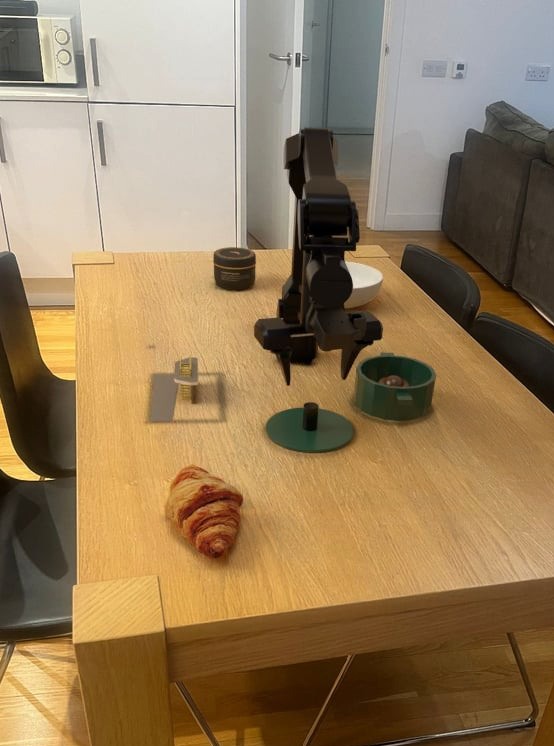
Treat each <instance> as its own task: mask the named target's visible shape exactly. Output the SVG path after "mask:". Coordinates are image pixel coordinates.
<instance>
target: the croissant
mask: <svg viewBox="0 0 554 746" xmlns="http://www.w3.org/2000/svg"><path fill="white" fill-rule="evenodd" d="M168 494H169V496H168V497H167V499H166V502H165V505H164V513H165V515H166V516H167V518H168V519H169V520H171V523H172V526H173V528H174V530H175V531H176V532H177V533H178V534H179V535H180V536H181V537H182V538H184V539H185V540H186V541H187V542H188V543H190V544H191V545H192V546H193V547H194V548H195V549H196V550H197V551H198V552H199V553H200V554H202V555H204V556H207V557H210V558H215V559H220V558H223V557H224V556H225V555H227V553H228V551H229V547H231V545H232V544H233V543H234V542H235V540H236V533H237V531H238V527H239V525H240V521H241V507H242V506H243V503H244V496H243V494H242V493H241V491H239V489H238V488H237V487H235V486H234V485H232V484H229V483H227V482H226V481H225V480H223V479H222V478H220V477H218V476H216V475H214V474H211V473H209V472H208V471H207V470H206V469H204V468H203V467H200V466H197V465H196V464H194V463H191V464H190V465H188V466H184V467H182V468H181V469H180V470H179V471H178V473H177V474H176V476H175V477H174V478H173V479H172V480H171V483H170V486H169V493H168Z"/></svg>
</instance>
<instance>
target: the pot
mask: <svg viewBox="0 0 554 746" xmlns="http://www.w3.org/2000/svg"><path fill="white" fill-rule="evenodd" d="M391 375H396V376H399V377H400V378H401V379H404V380H406V381H407V382H408V384H409V387H397V386H388V385H384V384H380V383H379V380H380V379H382V378H385V377H388V376H391ZM354 378H355V379H354V389H353V403H354V405H355V407H356V408H358V409H359V411H361V412H362V413H364V414H366V415H369V416H370V417H373V418H377V419H380V420H384V421H394V422H403V421H405V422H406V421H413V420H416V419H421V418H423V417H425V416H427V414H429V413H430V411H431V408H432V405H433V398H434V392H435V386H436V381H437V380H436V379H437V374H436V371H435V369H434V368H433V367H432V366H431V365H429V364H428V363H426V362H424V361H422V360H419V359H417V358H414V357H409V356H406V355H405V356H404V355H396V354H395V353H394V352H380V354H379V355H374V356H370V357H366V358H365V359H362V360H360V361H359V362H358V364H357V366H356V367H355V377H354Z"/></svg>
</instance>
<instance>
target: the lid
mask: <svg viewBox="0 0 554 746" xmlns="http://www.w3.org/2000/svg"><path fill="white" fill-rule="evenodd" d="M319 406H320V405H319V404H318V403H316V402H313V401H307V402H305V403H304V404H303V407H302V406H301V407H292V408H288V409H284V410H281V411H279V412H276V413H275V414H273V415H271V416H270V417H269V418H268V419H267V421H266V424H265V434H266V436H267V437H268V438H269V439H270V440H271V441H272V442H273V443H275V444H276V445H278V446H280V447H282V448H284V449H287V450H289V451H295V452H299V453H307V454H309V453H310V454H318V453H319V454H320V453H327V452H332V451H336V450H338V449H341V448H343V447H345V446H346V445H348V444H349V443H350V442H351V441H352V439H353V438H354V432H355V429H354V426H353V424H352V423H351V421H350V420H349V419H347V418H346V417H345V416H343V415H342V414H340V413H337V412H335V411H332V410H328V409H326V408H325V409H324V408H319Z"/></svg>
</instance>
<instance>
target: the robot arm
mask: <svg viewBox="0 0 554 746" xmlns="http://www.w3.org/2000/svg"><path fill="white" fill-rule="evenodd" d="M282 161H283V163H282V164H283V170H286V177H287V183H288V185H289V187H290V189H291V191H292V193H293V194H294V209H293V210H294V211H293V231H292V249H291V251H292V253H291V271H290V276H288V277H287V280H286V281H285V282H284V283H283V284H282V286H281V298H278V299H277V305H276V306H277V307H276V317H267V318H258V319H257V320H256V322H255V323H254V325H253V328H254V329H253V336H254V338H255V340H256V341H257V342H258V344H259V345H260V347H261V348H262V349H263V350H265V351H269V353H271V354H273V355H274V356H275V358H276V360H277V363H278V366H279V369H280V372H281V374H282V377H283V380H284V383H285V385H286V386H287V387H290V386H291V380H292V376H291V375H292V373H291V372H292V371H291V364H296V365H306V366H311V365H312V364H313V361H314V360H315V359H316V358H317V356H318V354H319V350H320V351H322V352H326V353H328V352H332V351H337V350H338V351H339V350H340V351H341V353H340V354H341V355H340V378H341V380H342V381H345V380H347V378H348V376H349V374H350V372H351V370H352V367H353V365H354V364H355V362H356V359H357V358H358V356H359V355H360V353H361V351H363V350H364V349H365V348H367V347H370V346H372V345H374V343H375V342H376V341H381V340H382V339H383V333H384V326H383V322H381V320H380V319H378V318H377V316H375V315H374V314H373V313H372V312H371V311H370V310H358V311H357V310H356V311H346V308H345V307H344V303H345V302H346V301H347V300H348V299H349V297H350V295H351V294H352V290H353V281H352V277H351V275H350V273H349V270H348V268H347V266H346V263H345V261H346V260H345V252H357V244H359V243H360V239H361V236H360V235H361V234H360V218H359V216H360V215H359V209H358V208H357V203H356V201H355V200H352V197H351V192H350V189H349V187H348V185H347V184H345V183H343V182H342V181H341V180H339V179H338V175H337V170H336V169H337V167H338V166H339V165H338V164H339V140H338V139H337V138H336V137H334V130H332V129H329V128H328V127H306V126H304V127H303V128H300V129H299V130H298V133H296V134H294V135H292V136H291V135H290V136H289V137H287V138H286V139H285V142H284V146H283V160H282ZM346 236H348V237H346Z"/></svg>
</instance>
